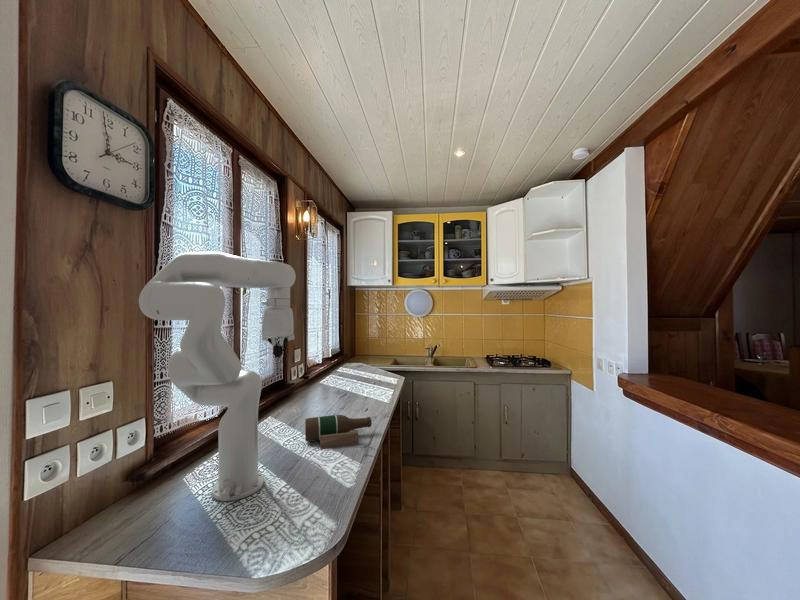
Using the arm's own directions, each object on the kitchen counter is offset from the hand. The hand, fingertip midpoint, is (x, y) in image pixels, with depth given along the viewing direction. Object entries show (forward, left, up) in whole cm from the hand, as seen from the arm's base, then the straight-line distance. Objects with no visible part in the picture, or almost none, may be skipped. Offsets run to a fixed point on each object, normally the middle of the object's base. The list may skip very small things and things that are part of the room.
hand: (277, 357), depth 111 cm
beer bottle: (+2, -9, -27) cm, 28 cm away
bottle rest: (+3, -21, -32) cm, 38 cm away
